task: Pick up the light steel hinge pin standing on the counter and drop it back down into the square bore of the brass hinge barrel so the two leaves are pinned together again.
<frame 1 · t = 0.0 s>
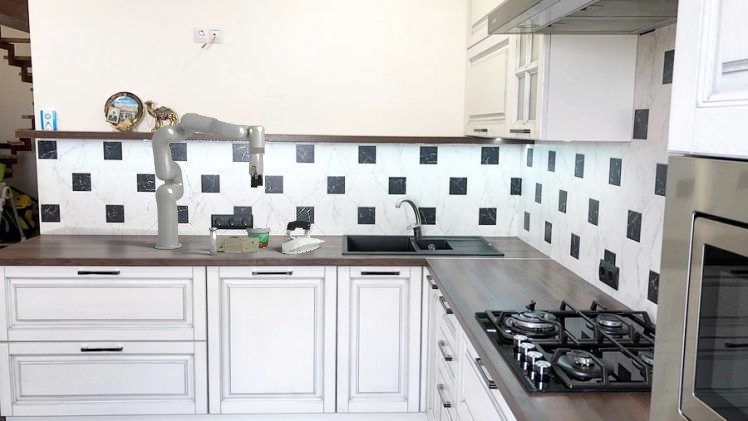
hand: (256, 186, 314), 31 cm above the worktop, tool pointing down, fingers open, 9 cm apart
iron: (301, 250, 320), on the worktop
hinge: (234, 251, 314), on the worktop
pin: (213, 254, 304), on the worktop
food container: (259, 248, 325), on the worktop
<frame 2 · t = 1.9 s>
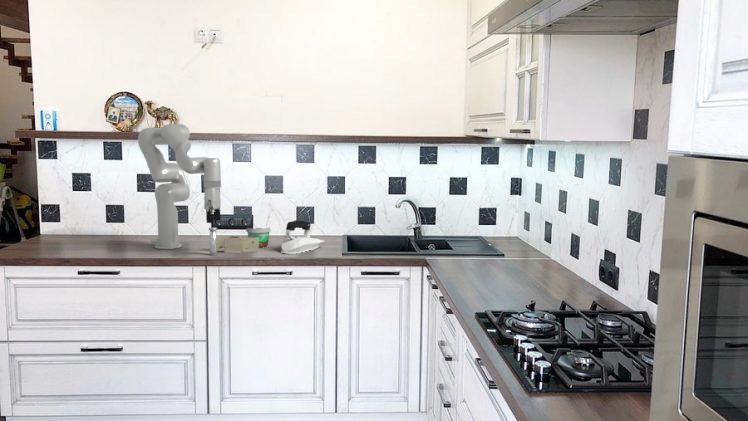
hand: (213, 221, 302), 16 cm above the worktop, tool pointing down, fingers open, 9 cm apart
nothing on the worktop moved.
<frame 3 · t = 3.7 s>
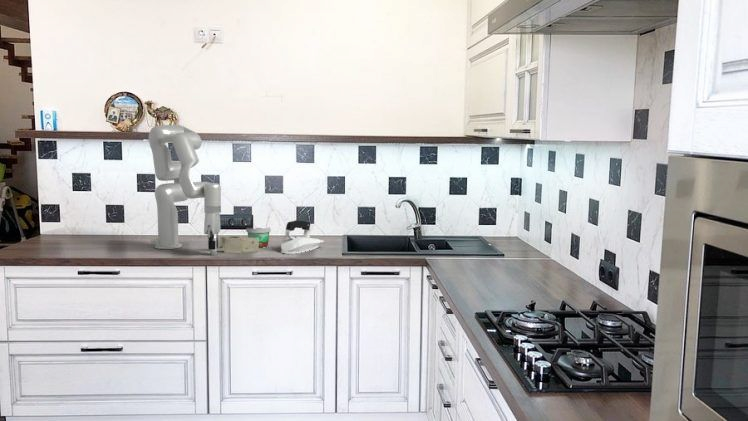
hand: (213, 248, 304), 3 cm above the worktop, tool pointing down, fingers closed on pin, 3 cm apart
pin: (213, 254, 304), on the worktop, touching gripper
everything else where it was.
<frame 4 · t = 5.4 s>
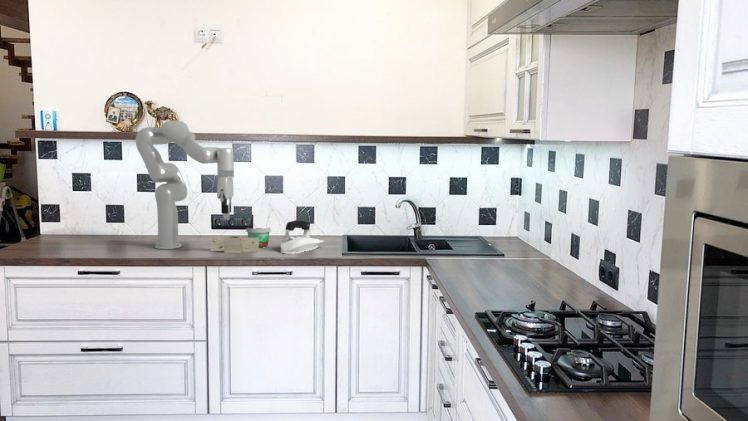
hand: (226, 212, 308), 19 cm above the worktop, tool pointing down, fingers closed on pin, 3 cm apart
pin: (226, 219, 308), point 16 cm above the worktop, touching gripper
everything else where it was.
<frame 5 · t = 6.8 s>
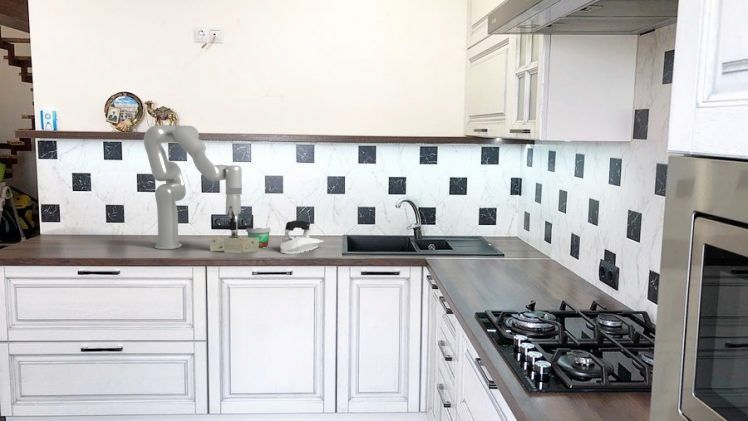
hand: (234, 229, 312), 11 cm above the worktop, tool pointing down, fingers closed on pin, 3 cm apart
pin: (234, 235, 313), point 8 cm above the worktop, touching gripper
everything else where it was.
when the fingers open (8 cm above the worktop, at t = 7.5 s): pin drops 5 cm, resting in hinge.
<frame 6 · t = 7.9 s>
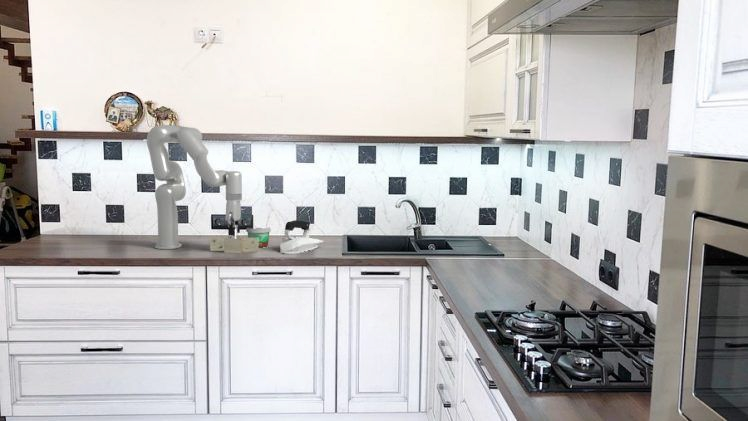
hand: (234, 233, 313), 9 cm above the worktop, tool pointing down, fingers open, 6 cm apart
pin: (234, 251, 314), resting in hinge
everything else where it was.
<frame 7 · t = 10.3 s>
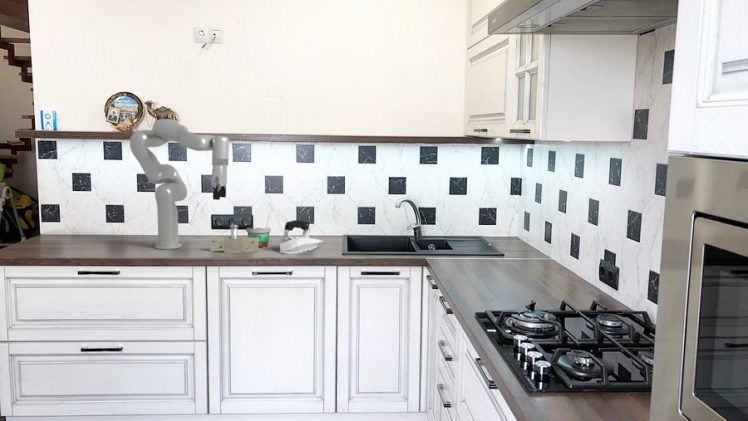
hand: (219, 198, 309), 26 cm above the worktop, tool pointing down, fingers open, 9 cm apart
nothing on the worktop moved.
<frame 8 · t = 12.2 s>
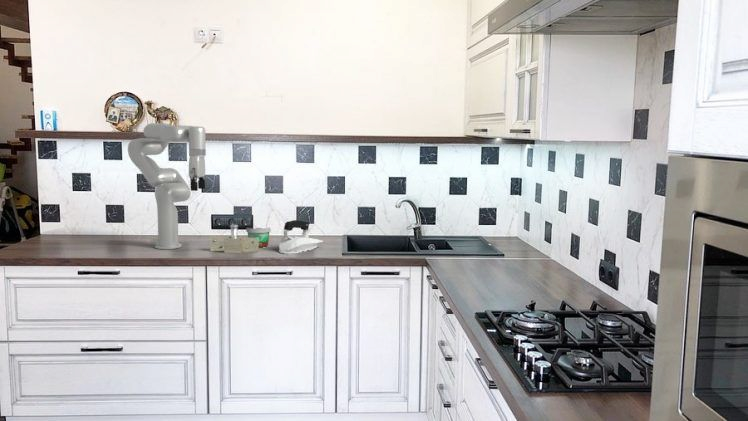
hand: (197, 189, 304), 30 cm above the worktop, tool pointing down, fingers open, 9 cm apart
at the end: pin 0.0 cm off-centre on the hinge, point 0.0 cm above the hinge's base; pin tilted 0°; the gripper is holding nothing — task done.
